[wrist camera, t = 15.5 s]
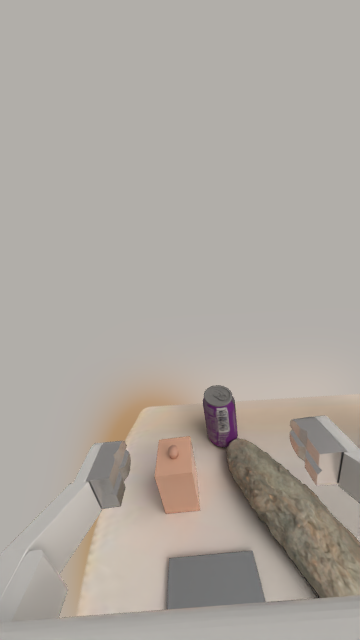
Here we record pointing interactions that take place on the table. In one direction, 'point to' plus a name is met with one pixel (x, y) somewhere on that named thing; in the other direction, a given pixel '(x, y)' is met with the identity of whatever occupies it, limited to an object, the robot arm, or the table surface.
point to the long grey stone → (298, 521)
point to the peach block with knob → (177, 475)
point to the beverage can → (220, 415)
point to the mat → (213, 580)
